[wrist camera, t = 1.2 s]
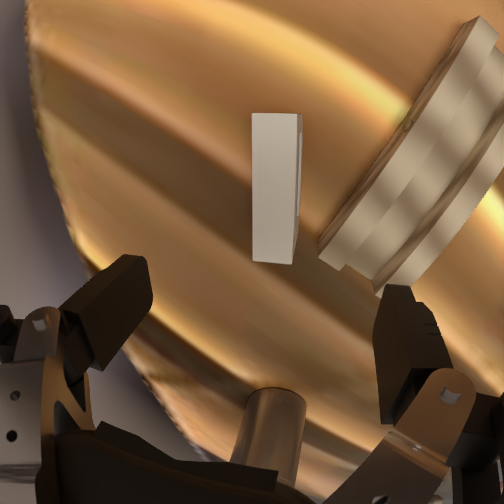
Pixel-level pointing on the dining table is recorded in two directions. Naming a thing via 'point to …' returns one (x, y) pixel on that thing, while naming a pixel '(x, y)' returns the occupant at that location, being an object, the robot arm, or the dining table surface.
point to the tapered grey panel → (276, 185)
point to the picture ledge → (427, 168)
